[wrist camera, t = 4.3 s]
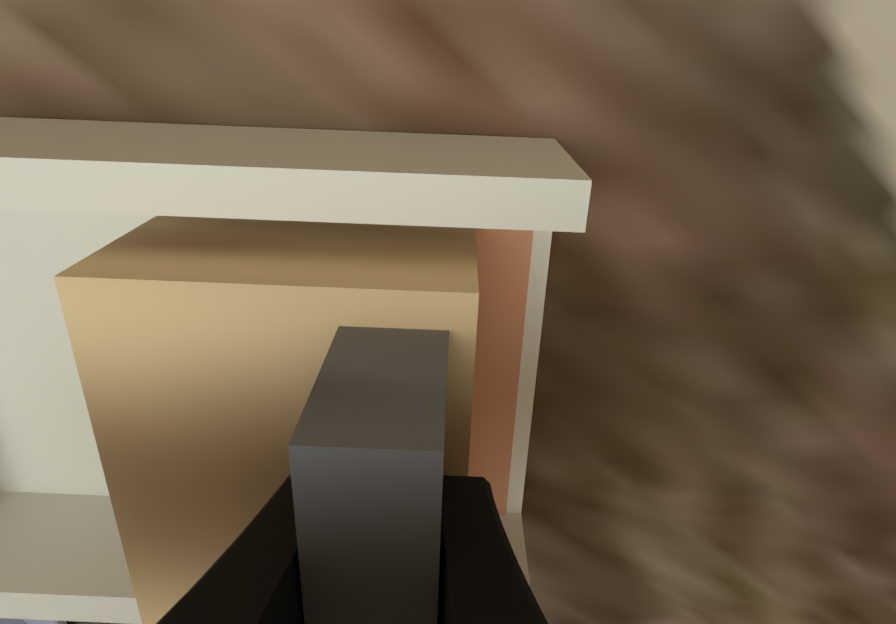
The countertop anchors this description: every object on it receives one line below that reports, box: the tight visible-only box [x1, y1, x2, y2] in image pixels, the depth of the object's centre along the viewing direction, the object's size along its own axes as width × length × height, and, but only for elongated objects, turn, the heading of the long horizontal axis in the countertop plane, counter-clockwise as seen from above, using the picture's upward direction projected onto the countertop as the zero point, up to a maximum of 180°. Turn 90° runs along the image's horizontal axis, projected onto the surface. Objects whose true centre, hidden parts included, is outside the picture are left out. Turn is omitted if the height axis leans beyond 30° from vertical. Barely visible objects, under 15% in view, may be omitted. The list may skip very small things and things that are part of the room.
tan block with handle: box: [54, 216, 479, 624], centre depth 11 cm, size 7×6×7 cm
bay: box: [0, 117, 592, 624], centre depth 13 cm, size 10×14×4 cm
